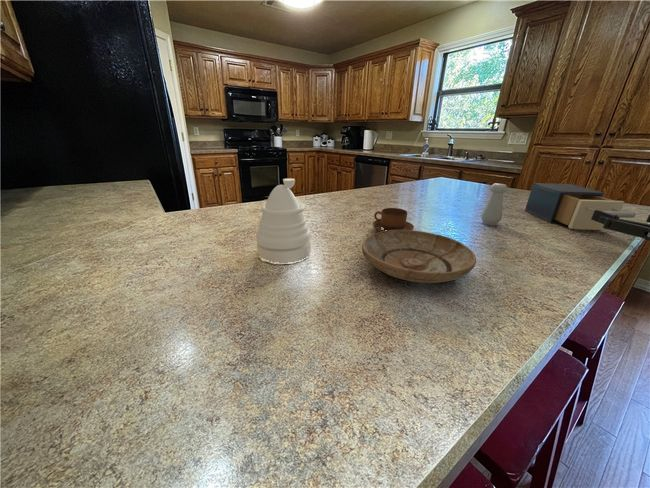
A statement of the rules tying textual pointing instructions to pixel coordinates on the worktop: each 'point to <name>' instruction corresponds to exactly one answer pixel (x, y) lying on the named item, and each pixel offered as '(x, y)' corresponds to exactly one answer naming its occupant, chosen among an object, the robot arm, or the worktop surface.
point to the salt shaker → (494, 205)
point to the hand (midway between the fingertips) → (621, 215)
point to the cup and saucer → (392, 220)
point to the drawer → (587, 210)
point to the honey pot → (283, 227)
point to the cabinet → (552, 198)
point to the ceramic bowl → (418, 256)
